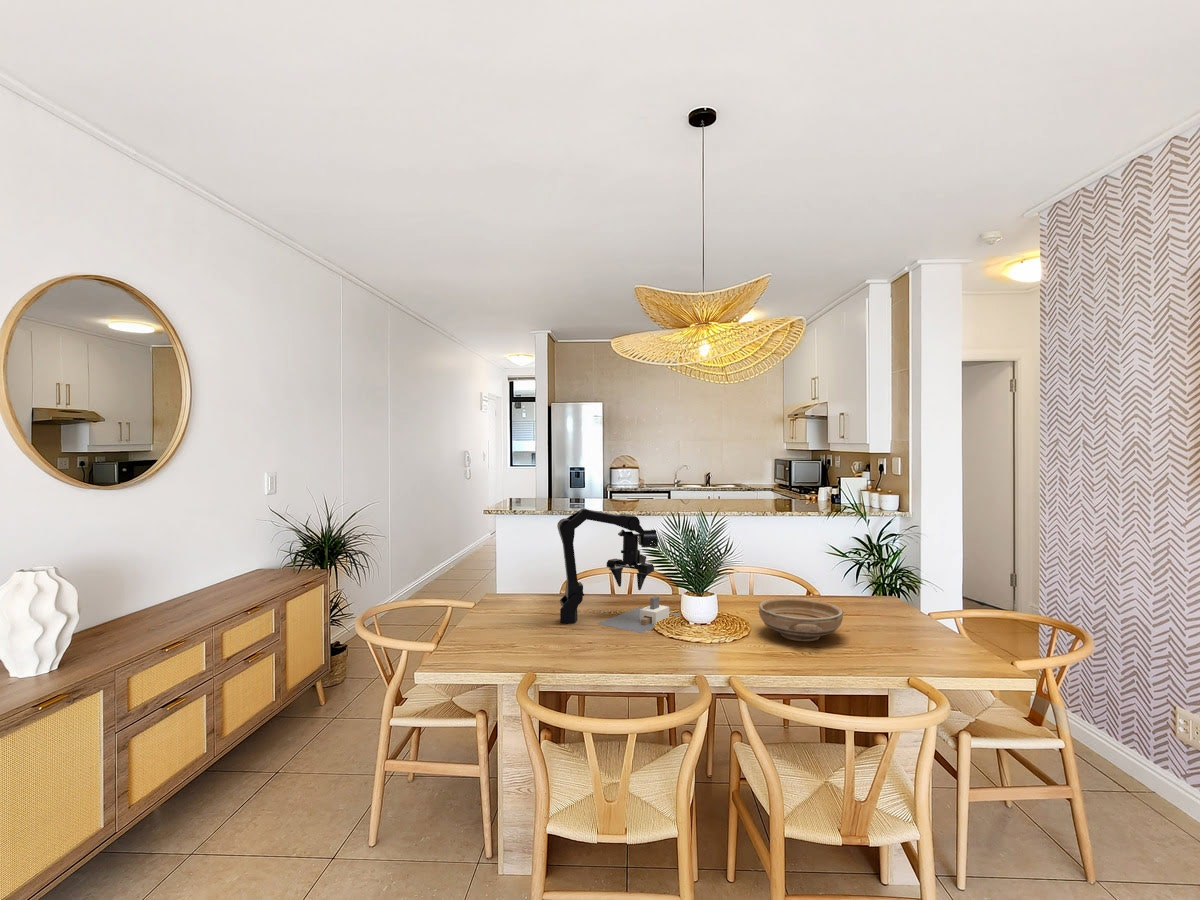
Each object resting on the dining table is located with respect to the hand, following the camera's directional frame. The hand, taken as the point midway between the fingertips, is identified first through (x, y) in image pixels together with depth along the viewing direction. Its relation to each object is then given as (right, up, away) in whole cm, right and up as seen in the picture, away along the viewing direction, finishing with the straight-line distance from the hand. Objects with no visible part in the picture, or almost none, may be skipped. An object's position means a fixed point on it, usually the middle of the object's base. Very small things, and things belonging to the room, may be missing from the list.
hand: (629, 588), depth 236 cm
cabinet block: (+9, -12, -3) cm, 15 cm away
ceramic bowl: (+59, -13, -19) cm, 64 cm away
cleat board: (+4, -13, -1) cm, 13 cm away
